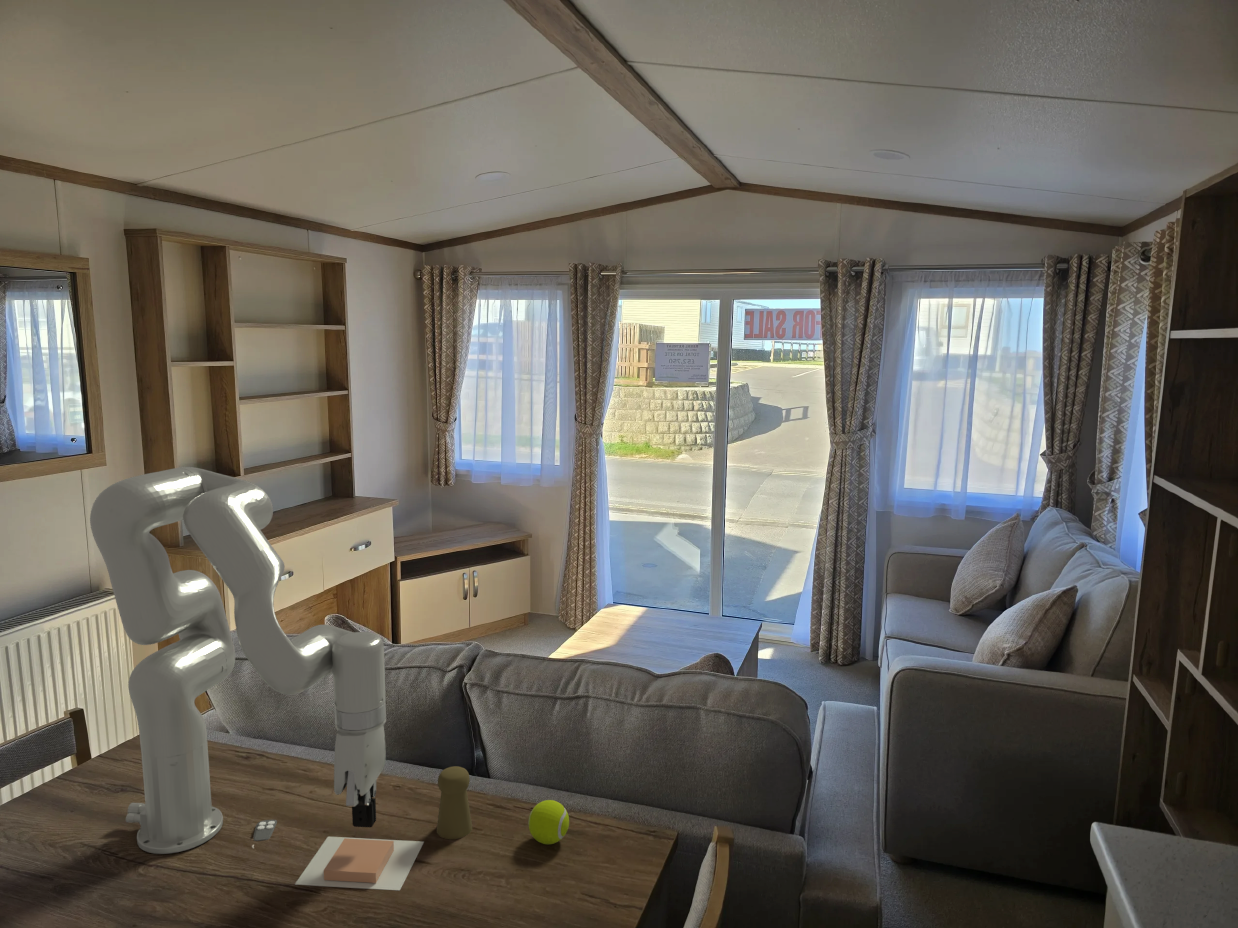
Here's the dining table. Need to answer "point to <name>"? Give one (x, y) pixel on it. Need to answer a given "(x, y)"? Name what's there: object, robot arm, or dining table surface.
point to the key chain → (264, 830)
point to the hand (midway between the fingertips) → (364, 823)
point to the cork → (454, 804)
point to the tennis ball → (548, 822)
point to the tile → (359, 860)
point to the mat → (388, 880)
